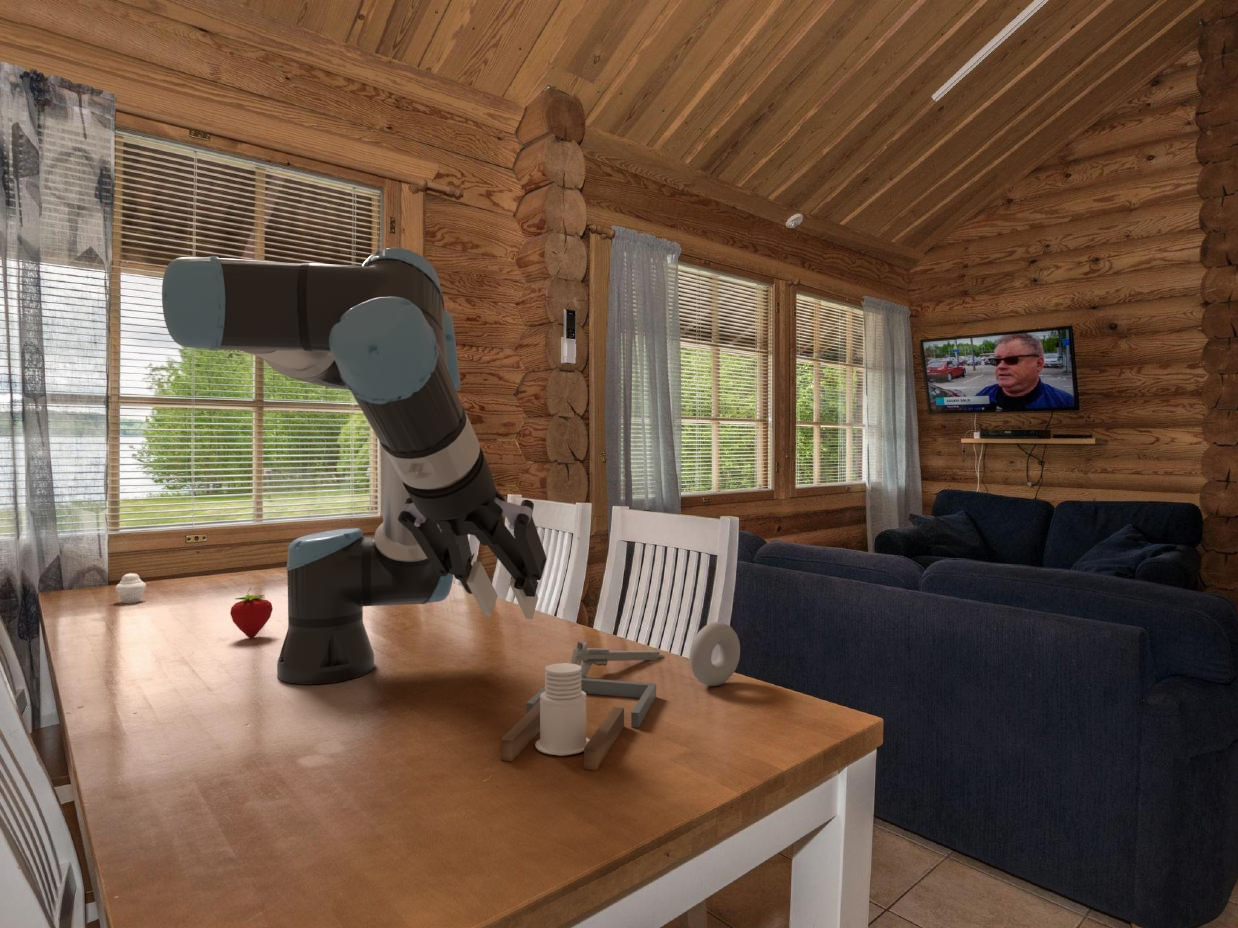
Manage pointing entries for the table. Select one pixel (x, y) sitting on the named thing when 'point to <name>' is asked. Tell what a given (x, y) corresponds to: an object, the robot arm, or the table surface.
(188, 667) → the table surface
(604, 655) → the caliper
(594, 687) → the open frame
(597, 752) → the slot
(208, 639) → the table surface
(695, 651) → the donut
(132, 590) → the muffin
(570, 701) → the downlight
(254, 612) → the strawberry
